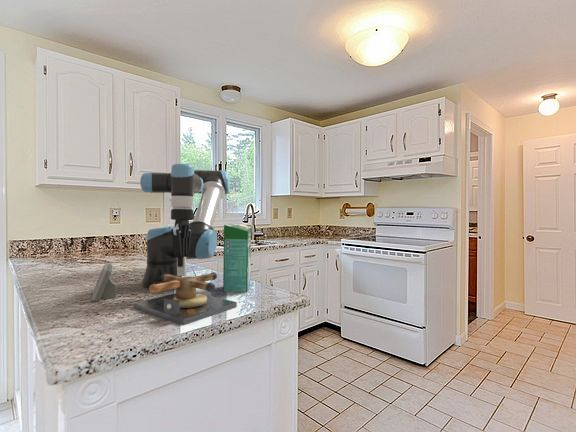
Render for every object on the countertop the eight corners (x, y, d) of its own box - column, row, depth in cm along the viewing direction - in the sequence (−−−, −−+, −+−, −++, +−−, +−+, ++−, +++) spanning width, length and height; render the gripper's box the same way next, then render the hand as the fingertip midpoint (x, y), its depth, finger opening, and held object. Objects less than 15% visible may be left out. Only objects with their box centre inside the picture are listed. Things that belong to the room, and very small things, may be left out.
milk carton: (247, 292, 120) (248, 224, 120) (223, 291, 121) (223, 224, 120) (250, 286, 130) (251, 223, 129) (228, 285, 130) (228, 223, 129)
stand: (131, 308, 99) (131, 290, 99) (187, 294, 116) (187, 279, 116) (181, 325, 85) (181, 305, 85) (236, 306, 102) (236, 289, 102)
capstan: (126, 303, 98) (126, 279, 97) (192, 288, 118) (192, 267, 118) (176, 320, 83) (177, 291, 83) (242, 299, 104) (242, 276, 104)
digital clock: (96, 291, 119) (96, 262, 119) (123, 289, 121) (123, 261, 121) (81, 303, 103) (81, 270, 103) (112, 301, 106) (112, 269, 106)
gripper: (179, 208, 120) (179, 271, 121) (163, 208, 107) (162, 279, 108) (199, 208, 120) (198, 272, 120) (185, 208, 107) (184, 279, 107)
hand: (181, 275), depth 114 cm, fingers closed
